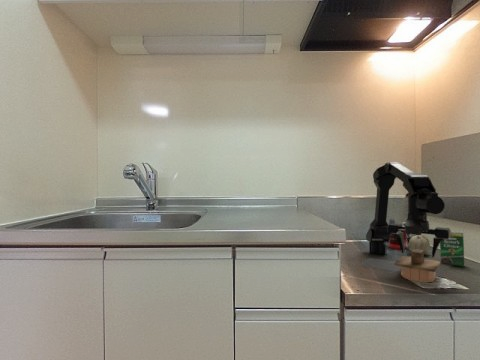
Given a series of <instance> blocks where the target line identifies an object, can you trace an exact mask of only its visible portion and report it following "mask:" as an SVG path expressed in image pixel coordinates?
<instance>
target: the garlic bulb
mask: <svg viewBox="0 0 480 360" xmlns="http://www.w3.org/2000/svg"><path fill="white" fill-rule="evenodd" d="M408 247H409V249H408V250H409V251H413V250H414V249H419V250H424V255H425V254H427V253H428V252H429V250H430V248H431V244H430V238H429V237H428V236H426V234H421V235H413V236H412V237H410V238H409V246H408Z"/></svg>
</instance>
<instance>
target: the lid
mask: <svg viewBox="0 0 480 360" xmlns="http://www.w3.org/2000/svg"><path fill="white" fill-rule="evenodd" d="M394 262H395V263H394V265H396V266H401V267H407V268H413V269H419V270H425V271H431V272H435V273H436V271H437V270H438V268H439V266H440V265H441V264H442V263H441V260H440V261H439V260H434V259H425V254H424V250H419V249H414V250H413V251H411V252H410V256H406V255H402V256H401V257H400V258H399V259H397V260H396V261H394Z"/></svg>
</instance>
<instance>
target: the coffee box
mask: <svg viewBox="0 0 480 360" xmlns="http://www.w3.org/2000/svg"><path fill="white" fill-rule="evenodd" d="M464 241H465V240H464V233H463V232H454V231H453V232H452V231H451V236H450V238H449V239H445V240H444V241H441V242H440V244H439V246H440V248H439V249H440V261H441V264H443V263H444V264H448V265H450V266H455V267H456V266H457V267H463V268H464V267H465V247H464V245H465V244H464V243H465V242H464Z"/></svg>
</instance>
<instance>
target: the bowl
mask: <svg viewBox="0 0 480 360" xmlns="http://www.w3.org/2000/svg"><path fill="white" fill-rule="evenodd" d="M400 270H401V272H400V273H401V276H402V278H404V279H406V280H409V281H414V282H419V283H431V282H435V281H436V271H435V272H431V271H425V270H419V269H413V268H407V267H401V269H400Z"/></svg>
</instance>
